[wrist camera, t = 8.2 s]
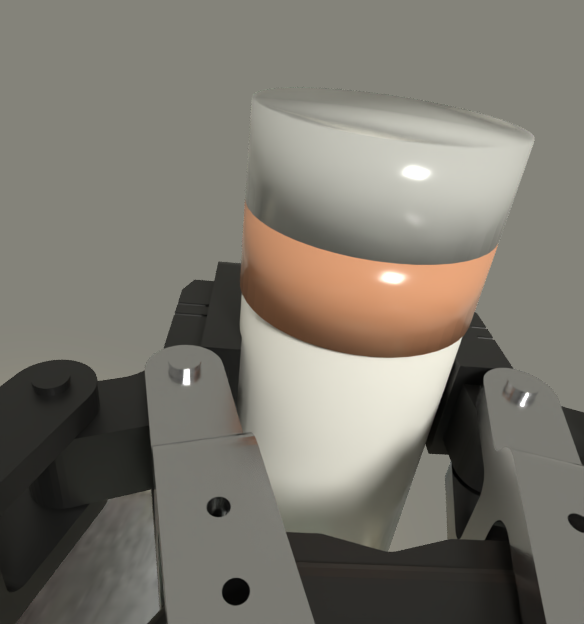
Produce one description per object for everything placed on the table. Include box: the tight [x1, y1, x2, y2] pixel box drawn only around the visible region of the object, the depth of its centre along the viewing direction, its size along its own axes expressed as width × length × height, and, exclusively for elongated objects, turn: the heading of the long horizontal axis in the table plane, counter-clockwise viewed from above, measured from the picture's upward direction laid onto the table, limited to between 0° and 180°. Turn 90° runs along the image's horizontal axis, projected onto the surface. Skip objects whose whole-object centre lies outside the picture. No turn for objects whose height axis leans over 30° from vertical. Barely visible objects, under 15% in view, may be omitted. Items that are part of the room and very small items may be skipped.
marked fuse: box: [237, 87, 535, 552], centre depth 11 cm, size 4×4×13 cm
